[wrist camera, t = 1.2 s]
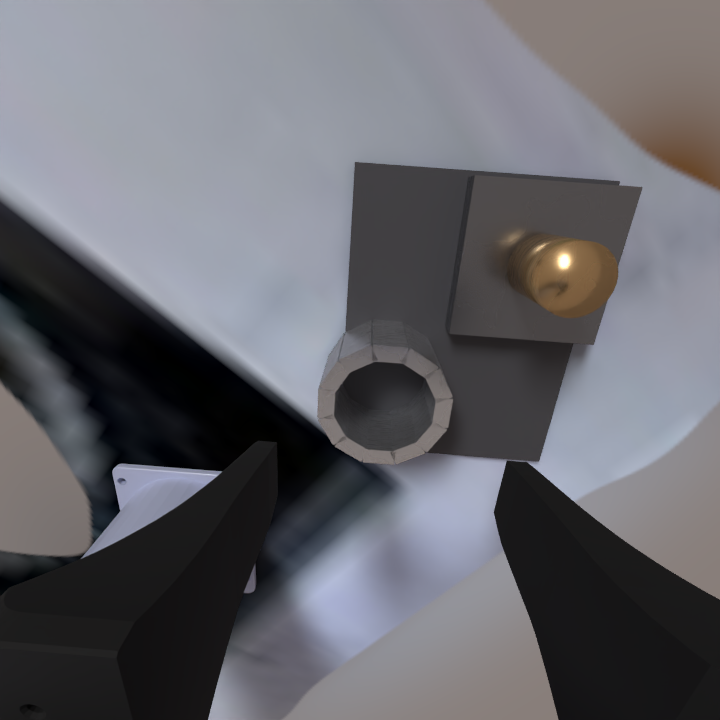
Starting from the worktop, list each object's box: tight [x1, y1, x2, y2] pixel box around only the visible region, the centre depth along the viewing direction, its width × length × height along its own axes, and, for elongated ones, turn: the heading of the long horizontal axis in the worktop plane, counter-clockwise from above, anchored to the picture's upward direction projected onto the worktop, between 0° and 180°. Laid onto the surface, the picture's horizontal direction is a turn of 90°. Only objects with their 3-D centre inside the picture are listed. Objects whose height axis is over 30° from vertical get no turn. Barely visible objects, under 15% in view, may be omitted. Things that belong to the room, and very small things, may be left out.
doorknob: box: [445, 175, 642, 345], centre depth 15 cm, size 6×6×5 cm
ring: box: [318, 320, 453, 465], centre depth 18 cm, size 6×6×4 cm
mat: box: [343, 162, 620, 461], centre depth 19 cm, size 14×11×1 cm
